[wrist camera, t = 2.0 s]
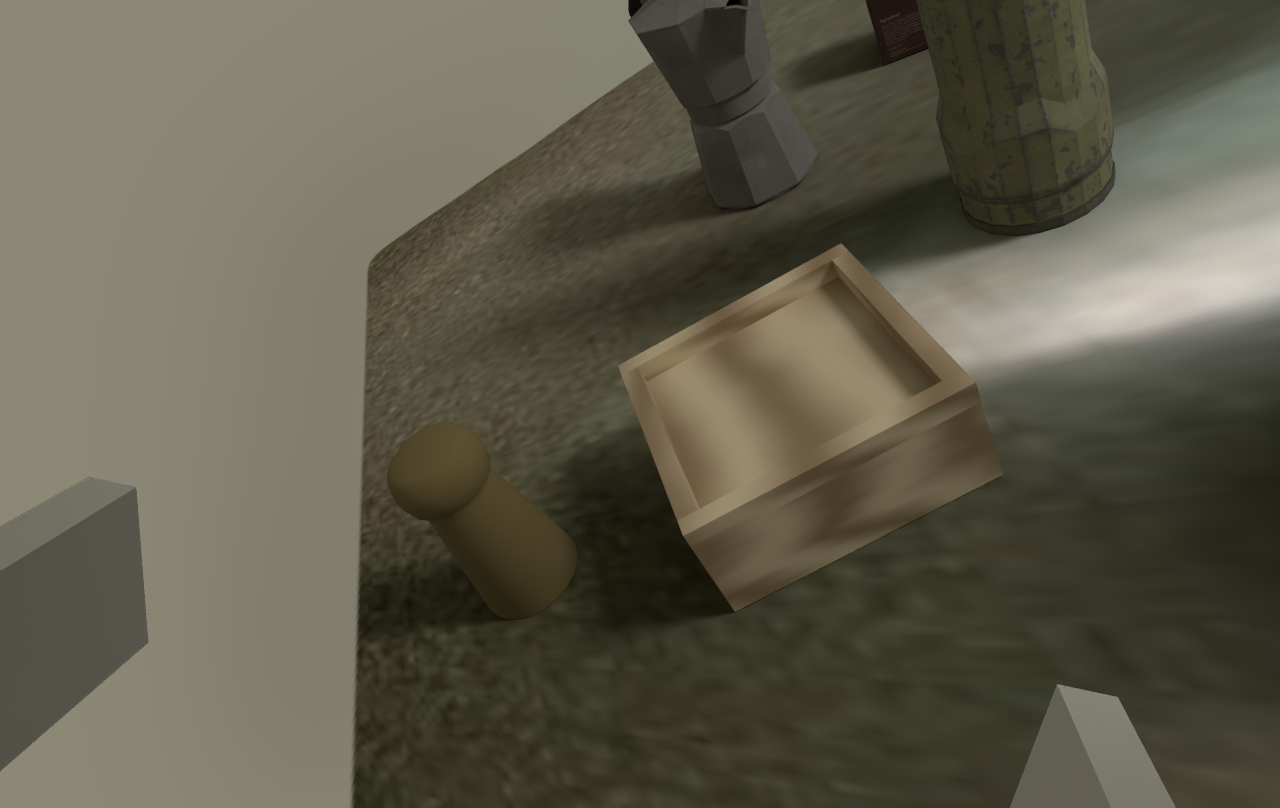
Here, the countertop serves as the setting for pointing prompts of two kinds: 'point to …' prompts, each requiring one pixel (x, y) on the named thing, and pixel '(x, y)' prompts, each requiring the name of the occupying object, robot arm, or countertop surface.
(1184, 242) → the countertop surface
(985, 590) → the countertop surface
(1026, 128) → the thermos
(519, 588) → the cork
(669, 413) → the oak stand
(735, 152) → the coffeepot
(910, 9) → the box
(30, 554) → the robot arm
